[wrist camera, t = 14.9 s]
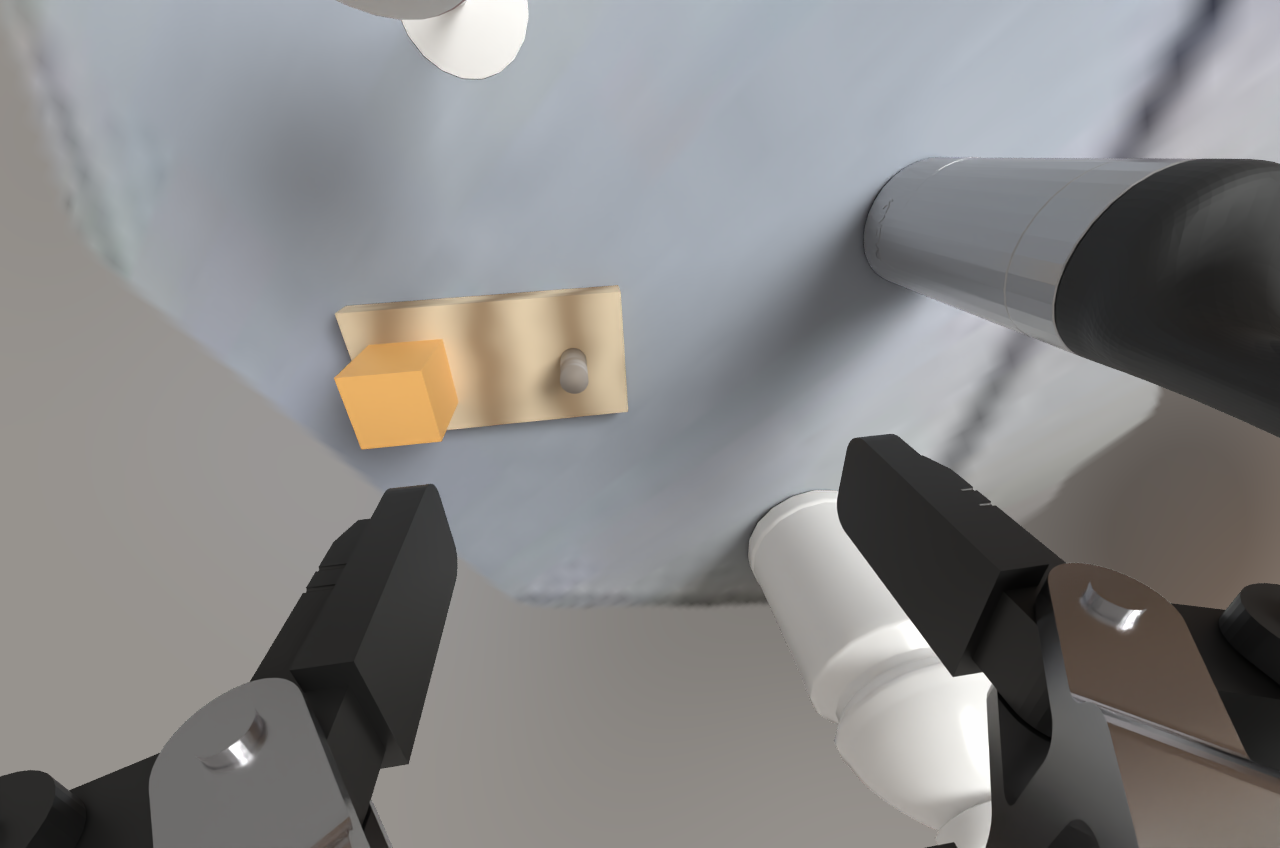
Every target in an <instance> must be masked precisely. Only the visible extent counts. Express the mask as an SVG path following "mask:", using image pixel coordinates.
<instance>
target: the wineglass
mask: <svg viewBox="0 0 1280 848" xmlns="http://www.w3.org/2000/svg"><path fill="white" fill-rule="evenodd" d="M337 1H339V2H341V3H343V4H345V5H348V6H350V7H353V8H356V9H359V10H361V11H364V12H367V13H370V14H373V15H376V16H381V17H387V18H393V19H399V20H402V22H403V25H404V27H405V29H406V32H407V34H408V36H409V37H410V38H411V40H412V41H413V42H414V44H415V45H416V46H417V48H418V49H419V50H420V52H421V53H422V54H423V55H424V56H425V57H426V58H427V59H428V60H430V61H431V62H432V63H434V64H435V65H436V66H437V67H439V68H440V69H441V70H442V71H445V72H448V73H450V74H453V75H455V76H458V77H460V78H467V79H483V78H486V77H489V76H491V75H494V74H497V73H500V72H501V71H502V70H503V69H504V68H505V67H506V66H507V65H508V64H510V63H511V62H512V61H513V60H514V59H515V57H516V55H517V53H518V51H519V49H520V47H521V45H522V43H523V42H524V39H525V33H526V28H527V22H528V17H529V15H528V3H527V0H337Z"/></svg>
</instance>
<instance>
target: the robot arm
mask: <svg viewBox="0 0 1280 848" xmlns="http://www.w3.org/2000/svg"><path fill="white" fill-rule="evenodd" d="M864 248H865V254H866V257H867V260H868V262H869V264H870V266H871V267H872V269H873V270H874V271H875V272H876V273H877V274H878V275H879V276H880V277H882V278H883V279H886V280H888V281H890V282H893V283H895V284H898V285H900V286H903V287H905V288H908V289H910V290H913V291H915V292H917V293H920V294H922V295H925V296H927V297H930V298H932V299H935V300H937V301H940V302H942V303H945V304H948V305H950V306H953V307H955V308H958V309H960V310H963V311H965V312H968V313H971V314H973V315H976V316H978V317H981V318H983V319H986V320H988V321H991V322H993V323H996V324H999V325H1001V326H1004V327H1006V328H1009V329H1011V330H1014V331H1016V332H1019V333H1022V334H1024V335H1027V336H1030V337H1033V338H1035V339H1038V340H1040V341H1043V342H1045V343H1048V344H1050V345H1053V346H1056V347H1058V348H1061V349H1063V350H1066V351H1068V352H1071V353H1073V354H1076V355H1079V356H1081V357H1084V358H1086V359H1089V360H1092V361H1094V362H1097V363H1100V364H1103V365H1105V366H1108V367H1111V368H1114V369H1117V370H1119V371H1122V372H1125V373H1128V374H1130V375H1133V376H1135V377H1138V378H1141V379H1143V380H1146V381H1149V382H1151V383H1154V384H1156V385H1159V386H1161V387H1164V388H1166V389H1169V390H1171V391H1174V392H1176V393H1179V394H1182V395H1184V396H1186V397H1189V398H1191V399H1194V400H1196V401H1198V402H1201V403H1203V404H1205V405H1208V406H1210V407H1212V408H1215V409H1217V410H1219V411H1221V412H1224V413H1226V414H1228V415H1231V416H1233V417H1235V418H1238V419H1240V420H1242V421H1244V422H1247V423H1249V424H1251V425H1253V426H1255V427H1257V428H1260V429H1262V430H1264V431H1266V432H1268V433H1271V434H1273V435H1275V436H1277V437H1279V438H1280V164H1278V163H1275V162H1271V161H1265V160H1253V159H1143V158H1129V159H1091V158H981V157H935V158H927V159H924V160H920V161H917V162H915V163H913V164H911V165H909V166H907V167H905V168H904V169H903V170H901V171H900V172H899V173H897V174H896V175H895V176H894V177H892V179H891V180H890V181H889V182H888V183H887V184H886V185H885V186H884V187H883V188H882V190H881V192H880V193H879V195H878V196H877V198H876V199H875V201H874V203H873V205H872V207H871V209H870V212H869V214H868V217H867V221H866V225H865V230H864ZM837 513H838V518H839V521H840V523H841V526H842V528H843V530H844V531H845V533H846V534H847V535H848V537H849V538H850V539H851V541H852V542H853V543H854V545H855V546H856V547H857V549H858V550H859V551H860V553H861V554H862V555H863V557H864V558H865V560H866V561H867V562H868V564H869V565H870V566H871V568H872V569H873V570H874V572H875V573H876V574H877V576H878V577H879V578H880V580H881V581H882V582H883V584H884V585H885V587H886V588H887V589H888V591H889V592H890V593H891V595H892V596H893V597H894V599H895V600H896V601H897V603H898V604H899V605H900V607H901V608H902V609H903V611H904V612H905V614H906V615H907V616H908V618H909V619H910V620H911V622H912V623H913V624H914V626H915V627H916V628H917V630H918V631H919V632H920V634H921V635H922V636H923V638H924V639H925V641H926V642H927V643H928V645H929V646H930V647H931V649H932V650H933V651H934V653H935V654H936V655H937V657H938V658H939V659H940V661H941V662H942V663H943V665H944V666H945V667H946V669H947V670H948V672H949V673H950V674H951V676H952V677H957V676H963V675H970V674H976V673H982V672H983V673H984V674H985V676H986V677H987V678H988V679H989V681H990V682H991V683H992V684H991V686H990V688H989V690H988V692H987V698H986V703H987V723H988V744H989V764H990V785H991V805H992V816H991V827H990V832H989V837H988V840H987V844H986V848H1280V585H1278V584H1268V583H1264V584H1262V583H1261V584H1260V583H1259V584H1252V585H1249V586H1246V587H1244V588H1243V589H1242V591H1241V592H1240V593H1239V594H1238V596H1237V597H1236V598H1235V599H1234V600H1233V602H1232V603H1231V604H1230V605H1229V607H1228V608H1227V609H1226V610H1221V609H1213V608H1205V607H1196V606H1188V605H1179V604H1172V603H1170V602H1169V601H1167V600H1166V599H1165V598H1164V597H1162V596H1161V595H1160V594H1159V593H1157V592H1156V591H1154V590H1153V589H1151V588H1150V587H1148V586H1146V585H1145V584H1143V583H1141V582H1139V581H1137V580H1136V579H1133V578H1131V577H1129V576H1127V575H1125V574H1122V573H1119V572H1117V571H1114V570H1112V569H1108V568H1105V567H1101V566H1097V565H1093V564H1086V563H1065V562H1064V561H1063V560H1062V559H1060V558H1059V557H1058V556H1057V555H1056V554H1054V553H1053V552H1052V551H1051V550H1049V549H1048V548H1047V547H1046V546H1045V545H1043V544H1042V543H1041V542H1039V541H1038V540H1037V539H1036V538H1035V537H1033V536H1032V535H1031V534H1030V533H1029V532H1027V531H1026V530H1025V529H1024V528H1023V527H1021V526H1020V525H1019V524H1018V523H1016V522H1015V521H1014V520H1013V519H1012V518H1010V517H1009V516H1008V515H1007V514H1005V513H1004V512H1003V511H1002V510H1000V509H999V508H998V507H997V506H992V505H991V501H989V500H988V499H987V498H986V497H985V496H983V495H982V494H981V493H980V492H978V491H977V490H976V491H974V490H973V487H972V486H971V485H970V484H969V483H967V482H966V481H965V480H964V479H962V478H961V477H960V476H959V475H958V474H956V473H955V472H954V471H953V470H951V469H950V468H948V467H945V466H943V465H941V464H939V463H937V462H935V461H933V460H931V459H929V458H927V457H925V456H921V455H920V454H919V453H917V452H916V451H915V450H914V449H913V448H911V447H910V446H909V445H908V444H907V443H906V442H904V441H903V440H902V439H901V438H900V437H898V436H897V435H894V434H886V435H877V436H868V437H859V438H854V439H852V440H851V441H850V443H849V445H848V447H847V451H846V457H845V462H844V467H843V472H842V477H841V482H840V487H839V492H838V497H837ZM456 576H457V553H456V547H455V544H454V540H453V537H452V534H451V531H450V528H449V524H448V521H447V518H446V515H445V511H444V508H443V505H442V502H441V498H440V495H439V492H438V490H437V488H436V487H435V486H434V485H433V484H426V485H417V486H408V487H399V488H390V489H388V490H387V491H386V492H385V493H384V495H383V497H382V498H381V500H380V502H379V504H378V506H377V508H376V510H375V512H374V513H373V515H372V517H371V519H364V520H358V521H357V522H356V523H354V524H353V525H352V526H351V527H350V528H349V529H348V530H347V531H346V532H344V533H343V534H342V535H341V536H340V537H339V538H338V539H337V540H335V541H334V542H333V544H332V546H331V547H330V549H329V551H328V552H327V554H326V556H325V557H324V559H323V561H322V562H321V564H320V566H319V571H318V572H315V574H314V576H313V577H312V579H311V581H310V583H309V584H308V586H307V587H306V588H307V592H306V593H303V594H302V596H301V597H300V599H299V601H298V602H297V604H296V606H295V607H294V609H293V611H292V612H291V614H290V616H289V618H288V619H287V621H286V622H285V624H284V626H283V628H282V629H281V631H280V632H279V634H278V636H277V638H276V639H275V641H274V643H273V644H272V646H271V647H270V649H269V651H268V653H267V654H266V656H265V658H264V659H263V661H262V662H261V664H260V666H259V668H258V669H257V671H256V672H255V674H254V676H253V677H252V679H251V681H250V682H248V683H246V684H243V685H241V686H238V687H236V688H233V689H231V690H230V691H228V692H226V693H224V694H222V695H220V696H219V697H217V698H215V699H214V700H212V701H211V702H209V703H208V704H206V705H205V706H204V707H202V708H201V709H200V710H198V711H197V712H196V713H195V714H194V715H193V716H191V717H190V718H189V719H188V720H187V721H186V722H185V723H184V724H183V725H182V726H181V727H180V728H179V729H178V730H177V731H176V732H175V733H174V734H173V736H172V737H171V738H170V740H169V741H168V742H167V743H166V745H165V746H164V748H163V749H162V751H161V752H160V753H158V754H156V755H154V756H151V757H149V758H146V759H144V760H142V761H139V762H137V763H134V764H132V765H130V766H127V767H125V768H122V769H120V770H118V771H115V772H113V773H110V774H108V775H105V776H103V777H101V778H98V779H96V780H93V781H91V782H89V783H86V784H84V785H82V786H79V787H76V788H74V789H72V790H68V789H66V788H65V787H64V786H63V785H61V784H60V783H59V782H57V781H56V780H55V779H54V778H52V777H51V776H50V775H49V774H47V773H44V772H41V771H33V770H28V771H20V772H15V773H11V774H8V775H4V776H1V777H0V848H393V847H392V844H391V842H390V840H389V838H388V835H387V833H386V831H385V828H384V826H383V824H382V821H381V819H380V817H379V815H378V812H377V810H376V808H375V806H374V804H373V802H372V800H371V797H372V793H373V790H374V786H375V783H376V780H377V777H378V774H379V770H380V769H381V768H387V767H394V766H399V765H405V764H409V760H410V756H411V752H412V749H413V744H414V741H415V737H416V733H417V729H418V725H419V721H420V718H421V713H422V710H423V706H424V702H425V698H426V694H427V690H428V686H429V683H430V678H431V674H432V671H433V667H434V663H435V659H436V655H437V651H438V648H439V644H440V640H441V636H442V632H443V628H444V624H445V620H446V617H447V613H448V609H449V605H450V601H451V597H452V593H453V589H454V586H455V581H456ZM927 848H957V846H956V844H955V843H954V842H952V843H947V844H942V845H937V846H932V847H927Z"/></svg>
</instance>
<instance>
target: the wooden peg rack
mask: <svg viewBox="0 0 1280 848" xmlns="http://www.w3.org/2000/svg"><path fill="white" fill-rule="evenodd" d="M335 316H336V319H337V321H338V324H339V327H340V330H341V333H342V335H343V338H344V341H345V344H346V346H347V349H348V352H349V355H350V358H351V360H353V359H354V358H356V357H357V356H358V355H359V354H360V353H361V352H362V351H363V350H364V349H365V348H366V347H367V346H368V345H374V344H386V343H399V342H411V341H423V340H435V339H443V343H444V347H445V351H446V355H447V359H448V362H449V366H450V370H451V374H452V378H453V382H454V386H455V390H456V394H457V398H458V405H457V407H456V409H455V412H454V414H453V416H452V418H451V421H450V423H449V425H448V428H447V430H452V429H462V428H472V427H482V426H492V425H501V424H511V423H521V422H531V421H541V420H551V419H561V418H571V417H581V416H590V415H600V414H610V413H620V412H628V403H627V387H626V371H625V355H624V339H623V323H622V307H621V291H620V289H619V286H618V285H615V286H602V287H589V288H575V289H562V290H549V291H536V292H523V293H510V294H496V295H483V296H470V297H457V298H444V299H430V300H417V301H404V302H391V303H378V304H365V305H351V306H345V307H344V308H342V309H341V310H339V311H338V312H336V313H335Z"/></svg>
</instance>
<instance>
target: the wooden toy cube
mask: <svg viewBox="0 0 1280 848" xmlns="http://www.w3.org/2000/svg"><path fill="white" fill-rule="evenodd" d="M334 379H335V382H336V385H337V387H338V390H339V392H340V395H341V398H342V400H343V403H344V405H345V408H346V410H347V413H348V416H349V418H350V421H351V423H352V426H353V429H354V431H355V434H356V436H357V439H358V442H359V444H360V447H361V449H371V448H381V447H391V446H401V445H411V444H420V443H430V442H440V441H442V439H443V437H444V435H445V432H446V430H447V428H448V425H449V423H450V421H451V418H452V416H453V414H454V412H455V409H456V407H457V405H458V398H457V394H456V390H455V386H454V382H453V378H452V374H451V370H450V366H449V362H448V359H447V355H446V351H445V347H444V343H443V339H435V340H423V341H411V342H399V343H386V344H374V345H368V346H367V347H366V348H365V349H364V350H363V351H362V352H361V353H360V354H359V355H358V356H357V357H356V358H354V359H353V360H352V361H351V362H350V363H349V364H348V365H347V366H346V367H345V368H344V369H343V370H342V371H341V372H340V373H339V374H338V375H337V376H336V377H335V378H334Z"/></svg>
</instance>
